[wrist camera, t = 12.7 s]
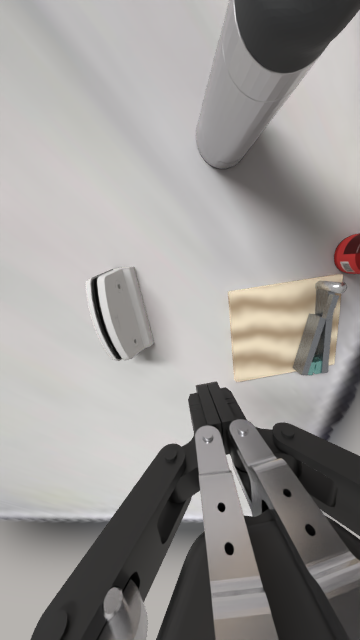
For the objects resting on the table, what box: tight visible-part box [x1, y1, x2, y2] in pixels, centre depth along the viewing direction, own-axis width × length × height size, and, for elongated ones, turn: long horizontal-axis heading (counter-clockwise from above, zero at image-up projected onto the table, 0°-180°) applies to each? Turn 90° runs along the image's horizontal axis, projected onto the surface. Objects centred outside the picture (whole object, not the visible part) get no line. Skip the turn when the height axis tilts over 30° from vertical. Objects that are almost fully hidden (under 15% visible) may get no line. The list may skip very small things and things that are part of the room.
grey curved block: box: [86, 267, 154, 361], centre depth 35 cm, size 17×5×10 cm, turn 12°
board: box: [228, 274, 343, 382], centre depth 42 cm, size 21×24×1 cm
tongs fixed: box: [313, 280, 347, 374], centre depth 40 cm, size 20×3×5 cm, turn 8°
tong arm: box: [293, 294, 339, 375], centre depth 40 cm, size 18×3×4 cm, turn 173°
